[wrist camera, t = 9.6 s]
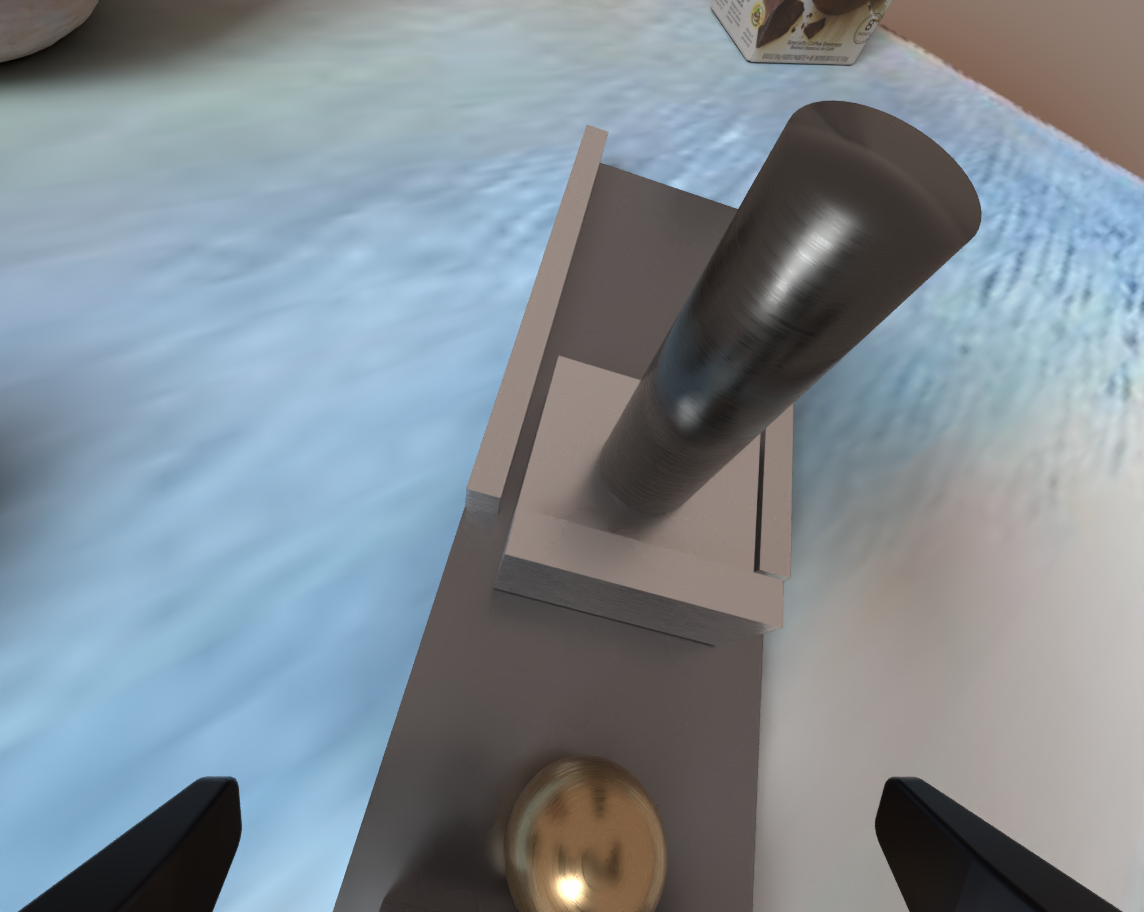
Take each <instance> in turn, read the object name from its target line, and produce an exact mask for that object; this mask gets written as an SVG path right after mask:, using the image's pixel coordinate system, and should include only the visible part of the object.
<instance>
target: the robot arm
mask: <svg viewBox="0 0 1144 912" xmlns="http://www.w3.org/2000/svg"><path fill="white" fill-rule="evenodd" d="M875 830H876V835H877V838H878V841H879V844H880V846H881V848H882V851H883V853H884V855H885V857H886V860H887V862H888V864H889V866H890V869H891V871H892V873H893V875H894V878H895V880H896V882H897V884H898V887H899V889H900V891H901V893H902V896H903V898H904V900H905V902H906V905H907V907H908V909H909V911H910V912H1122V911H1121V910H1119V909H1118V908H1116V907H1115V906H1113V905H1112V904H1110V903H1109V902H1107V901H1105V900H1104V899H1102V898H1101V897H1099V896H1098V895H1096V894H1095V893H1093V892H1092V891H1090V890H1089V889H1087V888H1086V887H1084V886H1083V885H1081V884H1080V883H1078V882H1077V881H1075V880H1074V879H1072V878H1071V877H1069V876H1068V875H1066V874H1065V873H1063V872H1061V871H1060V870H1058V869H1057V868H1055V867H1054V866H1052V865H1051V864H1049V863H1048V862H1046V861H1045V860H1043V859H1042V858H1040V857H1039V856H1037V855H1036V854H1034V853H1033V852H1031V851H1030V850H1028V849H1027V848H1025V847H1024V846H1022V845H1021V844H1019V843H1017V842H1016V841H1014V840H1013V839H1011V838H1010V837H1008V836H1007V835H1005V834H1004V833H1002V832H1001V831H999V830H998V829H996V828H995V827H993V826H992V825H990V824H989V823H987V822H986V821H984V820H983V819H981V818H980V817H978V816H977V815H975V814H973V813H972V812H970V811H969V810H967V809H966V808H964V807H963V806H961V805H960V804H958V803H957V802H955V801H954V800H952V799H951V798H949V797H948V796H946V795H945V794H943V793H942V792H940V791H939V790H937V789H936V788H934V787H933V786H931V785H929V784H928V783H926V782H925V781H923V780H922V779H919V778H916V777H891V778H889V779H888V780H887V781H886V783H885V785H884V789H883V793H882V796H881V800H880V804H879V807H878V811H877V815H876V819H875ZM241 831H242V821H241V809H240V797H239V786H238V782H237V780H236V779H235V778H233V777H202V778H200V779H198V780H196V781H195V782H193V783H192V784H190V785H189V786H188V787H186V788H185V789H184V790H182V791H181V792H180V793H178V794H177V795H176V796H174V797H173V798H171V799H170V800H169V801H167V802H166V803H165V804H163V805H162V806H161V807H159V808H158V809H157V810H155V811H154V812H152V813H151V814H150V815H148V816H147V817H146V818H144V819H143V820H142V821H140V822H139V823H138V824H136V825H135V826H133V827H132V828H131V829H129V830H128V831H127V832H125V833H124V834H123V835H121V836H120V837H119V838H117V839H116V840H114V841H113V842H112V843H110V844H109V845H108V846H106V847H105V848H104V849H102V850H101V851H100V852H98V853H97V854H95V855H94V856H93V857H91V858H90V859H89V860H87V861H86V862H85V863H83V864H82V865H81V866H79V867H78V868H77V869H75V870H74V871H72V872H71V873H70V874H68V875H67V876H66V877H64V878H63V879H62V880H60V881H59V882H58V883H56V884H55V885H53V886H52V887H51V888H49V889H48V890H47V891H45V892H44V893H43V894H41V895H40V896H39V897H37V898H36V899H34V900H33V901H32V902H30V903H29V904H28V905H26V906H25V907H24V908H22V909H21V910H20V911H18V912H213V909H214V907H215V904H216V902H217V899H218V897H219V894H220V892H221V889H222V886H223V884H224V881H225V879H226V876H227V874H228V871H229V869H230V866H231V864H232V861H233V859H234V856H235V853H236V851H237V848H238V845H239V842H240V837H241Z"/></svg>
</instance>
